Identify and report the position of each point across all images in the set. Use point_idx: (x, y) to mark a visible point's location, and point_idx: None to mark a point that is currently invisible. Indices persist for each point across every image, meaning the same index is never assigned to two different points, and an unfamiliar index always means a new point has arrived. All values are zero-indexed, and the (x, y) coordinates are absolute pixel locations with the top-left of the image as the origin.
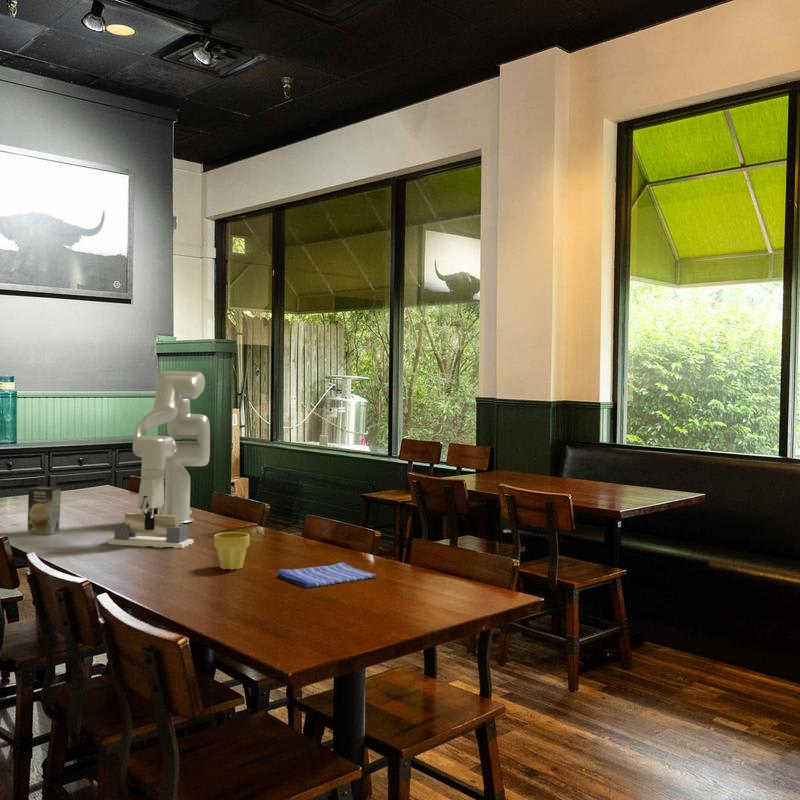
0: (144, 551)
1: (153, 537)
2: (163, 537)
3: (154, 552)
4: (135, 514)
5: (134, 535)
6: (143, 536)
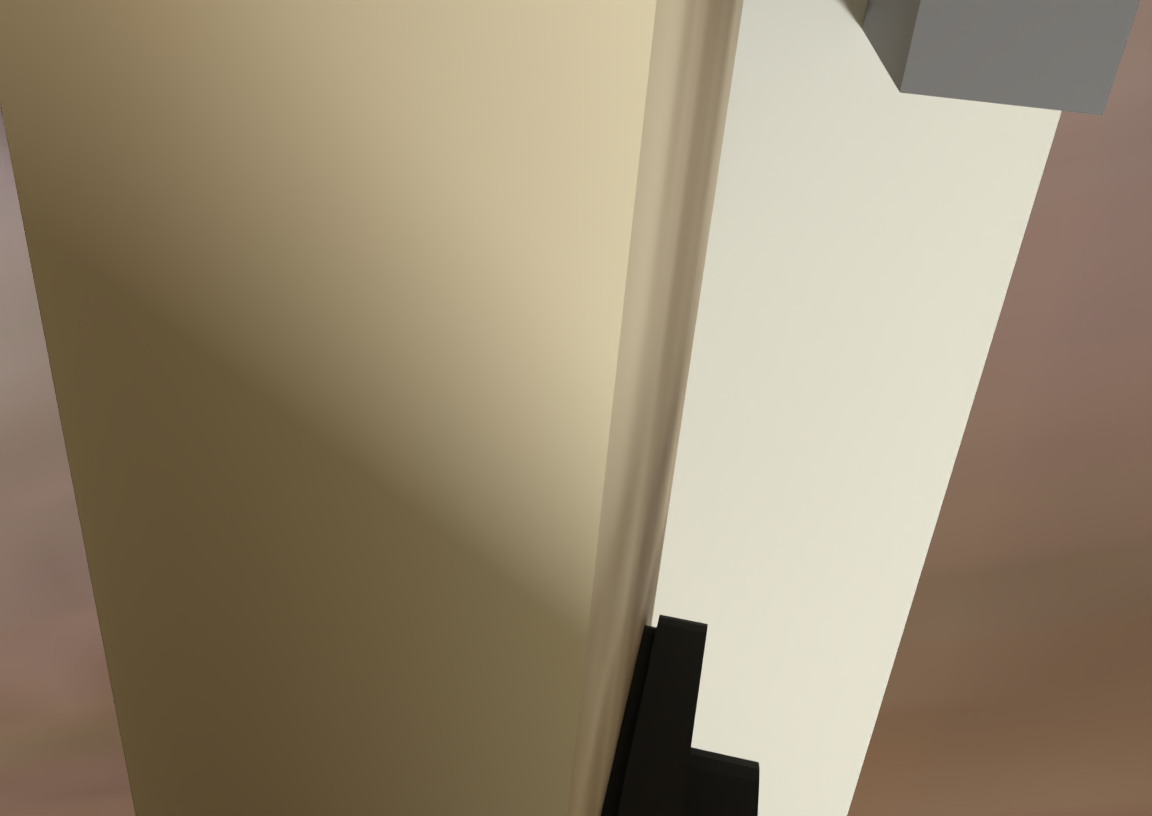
0: (14, 515)
1: (844, 515)
2: (868, 701)
3: (26, 651)
4: (141, 471)
5: (867, 8)
6: (976, 241)
